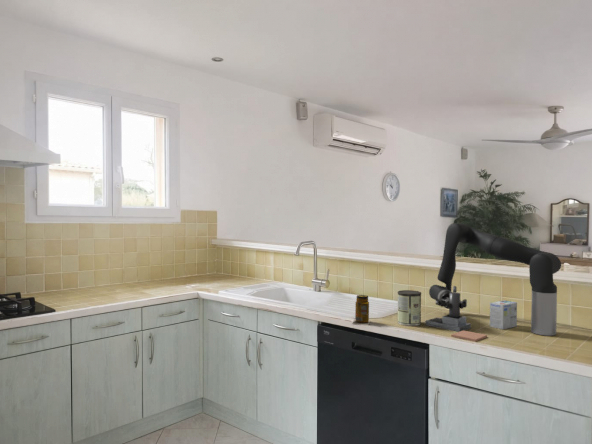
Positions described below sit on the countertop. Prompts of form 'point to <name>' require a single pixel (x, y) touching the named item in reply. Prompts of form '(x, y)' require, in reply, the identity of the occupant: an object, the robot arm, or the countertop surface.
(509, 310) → the light bulb box
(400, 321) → the coffee can
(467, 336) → the pink square coaster
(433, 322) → the grey holder stand
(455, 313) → the plug
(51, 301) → the countertop surface
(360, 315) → the condiment
